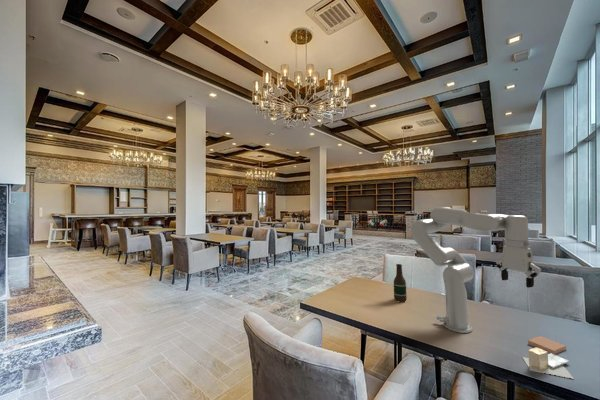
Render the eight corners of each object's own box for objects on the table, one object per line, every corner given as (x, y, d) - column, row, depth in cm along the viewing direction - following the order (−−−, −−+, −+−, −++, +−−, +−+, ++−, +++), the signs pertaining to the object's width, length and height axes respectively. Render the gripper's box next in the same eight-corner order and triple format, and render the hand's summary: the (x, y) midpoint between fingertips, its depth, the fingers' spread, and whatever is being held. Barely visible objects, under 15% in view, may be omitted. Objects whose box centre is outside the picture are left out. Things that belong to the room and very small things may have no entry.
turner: (543, 372, 94) (542, 356, 94) (526, 364, 100) (525, 348, 100) (569, 363, 99) (568, 347, 99) (551, 355, 104) (550, 340, 105)
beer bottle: (394, 302, 167) (392, 265, 168) (394, 298, 174) (392, 262, 175) (406, 303, 164) (405, 266, 165) (406, 299, 172) (405, 263, 172)
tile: (554, 350, 106) (565, 345, 109) (528, 340, 114) (539, 335, 117) (554, 356, 106) (566, 350, 109) (528, 345, 114) (540, 340, 117)
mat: (530, 370, 96) (530, 369, 96) (522, 357, 104) (522, 357, 104) (574, 379, 91) (574, 378, 91) (562, 365, 99) (562, 364, 99)
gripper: (546, 246, 103) (547, 289, 103) (501, 240, 119) (502, 276, 119) (533, 248, 101) (534, 291, 101) (489, 241, 117) (490, 278, 117)
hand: (516, 283), depth 110 cm, fingers open, 9 cm apart
